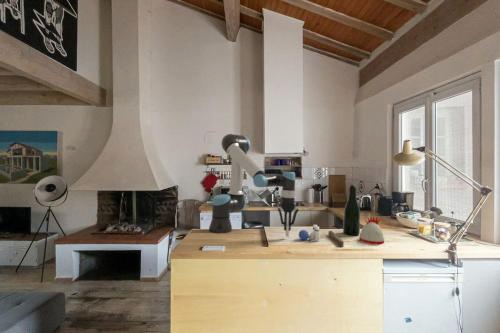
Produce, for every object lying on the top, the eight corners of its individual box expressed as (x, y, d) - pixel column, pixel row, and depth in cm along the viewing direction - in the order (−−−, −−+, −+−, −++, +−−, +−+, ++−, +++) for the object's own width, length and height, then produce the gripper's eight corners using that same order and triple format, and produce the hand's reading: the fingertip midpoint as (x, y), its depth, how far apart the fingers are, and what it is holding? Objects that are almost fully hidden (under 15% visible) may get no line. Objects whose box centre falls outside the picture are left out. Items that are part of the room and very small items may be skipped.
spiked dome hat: (386, 245, 161) (387, 219, 161) (361, 243, 164) (362, 218, 164) (380, 239, 175) (381, 215, 175) (357, 237, 177) (358, 214, 177)
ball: (311, 237, 166) (303, 243, 167) (306, 229, 170) (298, 235, 171) (308, 234, 162) (300, 240, 163) (303, 226, 166) (295, 232, 167)
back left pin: (311, 238, 170) (312, 225, 170) (314, 238, 171) (314, 224, 171) (315, 239, 168) (315, 225, 168) (317, 239, 170) (318, 225, 169)
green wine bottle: (360, 236, 179) (362, 185, 178) (343, 235, 181) (345, 185, 181) (358, 232, 189) (360, 184, 188) (342, 231, 191) (343, 184, 191)
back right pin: (313, 241, 165) (314, 226, 165) (315, 240, 166) (316, 226, 166) (317, 242, 163) (317, 227, 163) (319, 241, 165) (319, 227, 165)
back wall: (339, 246, 155) (339, 241, 155) (328, 235, 179) (328, 230, 179) (343, 246, 155) (343, 241, 155) (331, 235, 179) (331, 231, 179)
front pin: (307, 236, 167) (316, 226, 167) (308, 237, 169) (318, 227, 169) (309, 239, 165) (319, 229, 165) (311, 240, 167) (321, 230, 167)
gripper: (278, 197, 164) (276, 237, 164) (300, 198, 163) (298, 237, 164) (277, 196, 171) (275, 233, 171) (298, 196, 171) (296, 234, 171)
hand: (287, 235), depth 167 cm, fingers closed
